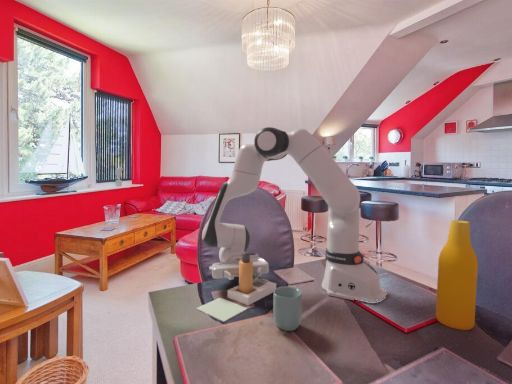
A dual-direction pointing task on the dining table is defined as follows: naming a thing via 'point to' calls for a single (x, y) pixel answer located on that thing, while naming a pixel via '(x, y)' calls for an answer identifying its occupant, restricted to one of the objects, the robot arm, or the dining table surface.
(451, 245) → the beer bottle
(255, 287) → the white bottle holder
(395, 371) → the dining table surface
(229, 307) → the mat
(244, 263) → the orange capped bottle
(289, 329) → the cup
